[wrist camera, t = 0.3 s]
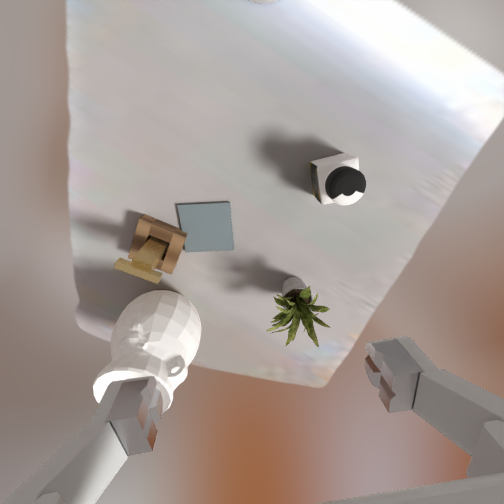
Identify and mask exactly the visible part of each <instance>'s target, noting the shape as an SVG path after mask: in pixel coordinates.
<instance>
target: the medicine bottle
mask: <svg viewBox="0 0 504 504" xmlns="http://www.w3.org/2000/svg"><path fill="white" fill-rule="evenodd" d="M309 164H310V171H311V178H312V186H313V193H314V196H315V197H316V198H317V200H318V201H319V202H320V203H321V204H322V205H325V204H330V203H334V202H335V203H337V204H339V205H350V204H353V203H355V202H356V201H357V200H359V199H360V198H361V196H362V195H363V193H364V191H365V188H366V180H365V177H364V175H363V174H362V173H361V172H360V171H359V164H358V157H355V156H352V155H349V154H346V153H342V154H338V155H334V156H330V157H326V158H322V159H318V160H314V161H310V163H309Z"/></svg>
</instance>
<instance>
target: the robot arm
mask: <svg viewBox="0 0 504 504" xmlns="http://www.w3.org/2000/svg"><path fill="white" fill-rule="evenodd" d="M250 1H253V2H256V3H272V2H276V1H278V0H250ZM366 351H367V353H368V354H369V355H368V356H367V357H366V358H365V368H366V373H367V375H368V378H369V380H370V381H371V383H372V385H374V386H375V387H377V388H378V389H379V397H380V399H381V401H382V402H383V404H384V406H385V407H386V409H387V411H388V412H389V413H391V412H399V411H407V410H413V411H414V412H415V413H416V414H417V415H418V416H420V417H421V418H422V419H424V420H425V421H426V422H428V423H429V424H430V425H431V426H433V427H434V428H435V429H437V430H438V431H439V432H440V433H442V434H443V435H444V436H446V437H447V438H448V439H450V440H451V441H452V442H454V443H455V444H456V445H457V446H459V447H460V448H461V449H463V450H464V451H465V452H467V453H468V454H469V455H470V456H472V457H471V460H470V463H469V465H468V468H467V472H466V475H467V476H468V478H466V479H460V480H454V481H448V482H442V483H436V484H431V485H425V486H419V487H413V488H407V489H401V490H395V491H389V492H383V493H377V494H371V495H365V496H359V497H353V498H347V499H342V500H336V501H329V502H323V503H317V504H504V399H503V398H501V397H499V396H497V395H495V394H493V393H491V392H489V391H487V390H485V389H483V388H481V387H479V386H477V385H475V384H473V383H471V382H469V381H466V380H464V379H463V378H461V377H459V376H456V375H454V374H453V373H451V372H448V371H446V370H444V369H441V370H439V369H438V368H437V366H436V365H435V364H434V363H433V362H432V361H431V360H430V359H429V358H428V357H427V356H426V354H425V353H424V352H423V351H422V350H421V349H420V348H419V347H418V346H417V345H416V343H415V342H414V341H413V340H412V339H411V338H410V337H408V336H403V337H397V338H390V339H384V340H378V341H372V342H368V343H367V344H366ZM156 384H157V381H156V379H155V377H154V376H147V377H140V378H132V379H125V380H118V381H112V382H111V383H110V384H109V385H108V387H107V389H106V391H105V393H104V395H103V397H102V399H101V401H100V403H99V406H98V407H97V409H96V411H95V413H94V415H93V417H92V419H91V421H90V423H89V425H87V426H84V427H83V428H82V429H81V430H80V431H78V432H77V433H76V434H75V435H74V436H73V437H72V438H71V439H70V440H69V441H68V442H66V443H65V444H64V445H63V446H62V447H61V448H60V449H59V450H58V451H57V452H56V453H55V454H54V455H52V456H51V457H50V458H49V460H47V461H46V462H45V463H44V464H43V465H42V466H41V467H40V468H39V469H37V470H36V471H35V472H34V473H33V474H32V475H31V476H30V477H29V478H28V479H27V480H26V481H25V482H23V483H22V484H21V485H20V486H19V487H18V488H17V489H16V490H15V491H14V492H13V493H12V494H11V495H10V496H8V497H7V498H6V500H5V501H4V503H3V504H95V502H96V501H97V500H98V498H99V497H100V495H101V494H102V493H103V491H104V490H105V488H106V487H107V486H108V484H109V483H110V482H111V480H112V479H113V477H114V476H115V475H116V473H117V472H118V470H119V469H120V468H121V466H122V465H123V463H124V462H125V461H126V459H127V458H128V456H129V455H134V454H140V453H145V452H150V451H153V447H154V443H155V439H156V435H157V429H156V426H155V424H156V423H157V422H158V421H159V420H160V418H161V414H162V409H163V399H162V394H161V392H160V390H158V389H157V388H156Z"/></svg>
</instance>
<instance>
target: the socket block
mask: <svg viewBox="0 0 504 504" xmlns="http://www.w3.org/2000/svg"><path fill="white" fill-rule="evenodd" d="M187 235H188V233H186V232H183V231H182V229H179V228H177V227H174V226H172V225H169V224H167V223H165V222H162V221H160V220H157V219H155V218H153V217H150V216H148V215H145V214H144V215H143V216H142V217H141V218H139V221H138V224H137V228H136V231H135V235H134V238H133V241H132V245H131V248H130V252H129V255H128V258H129V259H132V260H133V257H134V256H135V255H136V254H137V253H138V251H139V250H140V249H141V248H142V247H143V246H144V244H145V243H146V242H147V241H148V240H149V239H150V237H151V236H154V237H156V238H159V239H161V240H164V241H166V242H169V243H170V245H169V248H168V251H167V253H166V254H164V255H163V257H162V258H161V260H160V261H159V263H158V264H157V266H156V267H155V268H156V269H159V270H161V271H164V272H167V273H169V274H172V272H173V270H174V268H175V266H176V264H177V261H178V258H179V256H180V253H181V251H182V248H183V246H184V243H185V240H186V237H187Z"/></svg>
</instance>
